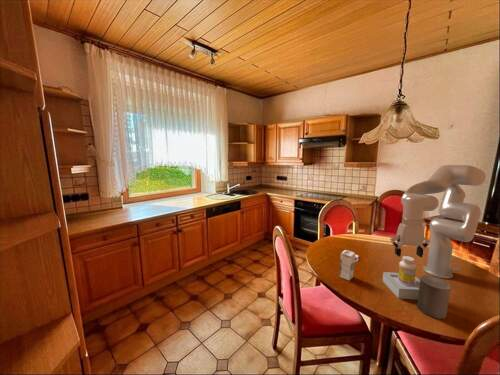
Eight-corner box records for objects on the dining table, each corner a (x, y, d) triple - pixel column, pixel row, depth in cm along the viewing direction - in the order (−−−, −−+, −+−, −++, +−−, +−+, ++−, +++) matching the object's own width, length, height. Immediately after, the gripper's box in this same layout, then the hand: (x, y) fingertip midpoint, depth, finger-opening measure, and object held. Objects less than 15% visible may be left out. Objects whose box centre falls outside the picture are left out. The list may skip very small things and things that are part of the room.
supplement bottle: (398, 276, 107) (400, 253, 105) (414, 281, 103) (417, 257, 101) (397, 283, 102) (399, 258, 100) (414, 288, 98) (417, 262, 96)
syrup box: (343, 272, 118) (344, 249, 116) (353, 277, 114) (355, 252, 112) (338, 277, 114) (340, 252, 112) (350, 281, 110) (351, 256, 108)
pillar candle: (412, 308, 90) (416, 276, 88) (422, 300, 95) (426, 270, 93) (441, 323, 82) (446, 288, 80) (450, 313, 87) (455, 280, 85)
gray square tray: (410, 282, 109) (411, 273, 108) (430, 300, 95) (431, 290, 94) (382, 280, 110) (383, 272, 110) (398, 298, 97) (399, 288, 96)
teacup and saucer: (356, 256, 138) (357, 250, 138) (361, 262, 131) (362, 256, 130) (343, 256, 139) (343, 250, 139) (347, 261, 131) (347, 255, 131)
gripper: (425, 219, 100) (422, 252, 103) (388, 219, 102) (385, 251, 105) (437, 224, 93) (433, 260, 95) (397, 224, 95) (393, 258, 97)
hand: (408, 255), depth 100 cm, fingers open, 9 cm apart
